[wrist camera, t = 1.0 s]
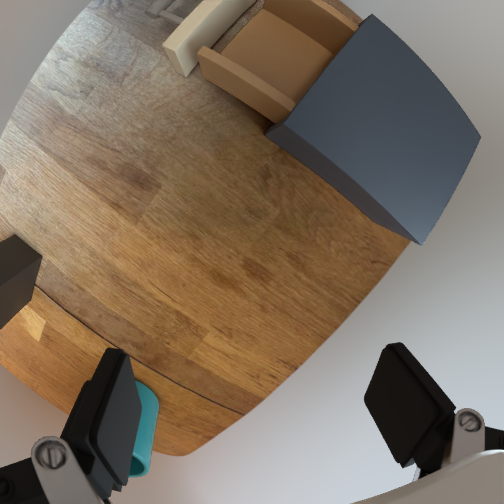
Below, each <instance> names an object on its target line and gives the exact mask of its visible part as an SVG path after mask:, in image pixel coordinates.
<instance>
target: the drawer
mask: <svg viewBox="0 0 504 504" xmlns="http://www.w3.org/2000/svg"><path fill="white" fill-rule="evenodd" d="M174 1H175V0H155V1H154V2H153V3H152V4H151V5H150V6H149V7H148V8H147V9H146V10H145V13H146V14H147V15H148V16H149V17H151V18H153V19H157V18H158V17H160V18H163V19H165V20H167V21H169V22H172V23H174V24H176V25H178V27H177V28H176V29H175V30H174V32H173V33H172V34H171V35H170V36H169V37H168V38H167V40H166V41H165V42H164V43H163V44H162V46H163V48H164V50H165V52H166V54H167V55H168V57H169V59H170V61H171V63H172V65H173V67H174V69H175V70H176V72H177V73H179V74H181V75H183V76H185V77H187V76H188V75H189V73H190V72H191V71H192V69H193V68H194V67H195V66H196V65H197V63H198V62H199V63H200V68H201V72H202V76H203V78H205V79H207V80H208V81H210V82H212V83H213V84H215V85H217V86H218V87H220V88H222V89H223V90H225V91H227V92H228V93H230V94H231V95H233V96H235V97H236V98H238V99H239V100H241V101H243V102H244V103H246V104H247V105H249V106H250V107H252V108H253V109H255V110H256V111H258V112H259V113H261V114H262V115H264V116H265V117H267V118H268V119H269V120H271V121H272V122H274V123H275V124H277V123H278V122H280V121H281V120H283V119H285V118H286V117H287V116H288V115H289V113H290V112H291V111H292V110H293V108H294V107H295V106H296V104H297V103H298V102H299V100H300V99H301V98H302V96H303V95H304V94H305V93H306V91H307V90H308V89H309V87H310V86H311V85H312V84H313V82H314V81H315V80H316V79H317V77H318V76H319V75H320V73H321V72H322V71H323V70H324V68H325V67H326V66H327V65H328V64H329V62H330V61H331V60H332V59H333V57H334V56H335V55H336V54H337V52H338V51H339V50H340V49H341V48H342V46H343V45H344V44H345V43H346V42H347V40H348V39H349V38H350V37H351V36H352V35H353V33H354V32H355V31H356V30H357V29H358V28H359V26H358V25H356V24H355V23H354V22H352V21H351V20H350V19H348V18H347V17H346V16H344V15H343V14H342V13H340V12H339V11H337V10H336V9H335V8H333V7H332V6H330V5H329V4H327V3H326V2H324V1H323V0H265V2H264V5H263V8H262V9H261V10H260V11H259V12H258V13H257V14H256V15H255V16H254V17H253V18H252V19H251V20H250V21H249V22H248V23H247V24H246V25H245V26H244V27H243V28H242V29H241V30H240V32H239V33H238V34H237V35H236V36H235V37H234V38H233V39H232V40H231V41H230V42H229V44H228V45H227V46H226V47H225V48H224V49H223V50H222V52H221V53H220V54H219V53H217V52H215V51H214V50H212V49H210V48H211V47H212V46H213V45H214V43H215V42H216V41H217V40H218V39H219V38H220V37H221V36H222V35H223V33H224V32H225V31H226V30H227V29H228V28H229V27H230V26H231V25H232V24H233V23H234V22H235V21H236V20H237V19H238V18H239V17H240V16H241V15H242V14H243V13H244V12H245V11H246V10H247V9H248V8H249V7H250V6H251V5H252V4H253V3H254V2H255V1H256V0H203V1H202V2H201V3H200V4H199V5H198V6H197V7H196V8H195V9H194V10H193V11H192V12H191V13H190V14H189V15H188V16H187V17H186V19H183V18H181V17H179V16H177V15H174V14H172V13H170V12H167V11H165V10H166V9H167V8H168V7H169V6H170V5H171V4H172V3H173V2H174Z"/></svg>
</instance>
